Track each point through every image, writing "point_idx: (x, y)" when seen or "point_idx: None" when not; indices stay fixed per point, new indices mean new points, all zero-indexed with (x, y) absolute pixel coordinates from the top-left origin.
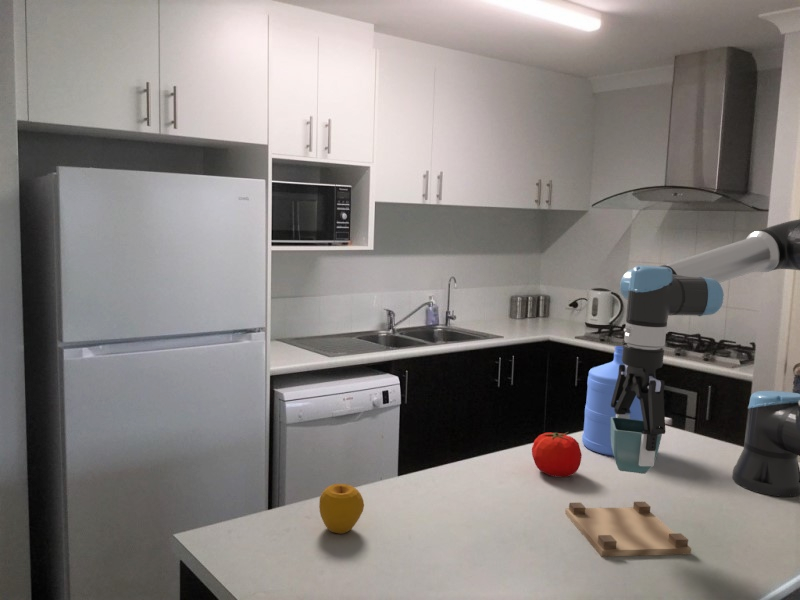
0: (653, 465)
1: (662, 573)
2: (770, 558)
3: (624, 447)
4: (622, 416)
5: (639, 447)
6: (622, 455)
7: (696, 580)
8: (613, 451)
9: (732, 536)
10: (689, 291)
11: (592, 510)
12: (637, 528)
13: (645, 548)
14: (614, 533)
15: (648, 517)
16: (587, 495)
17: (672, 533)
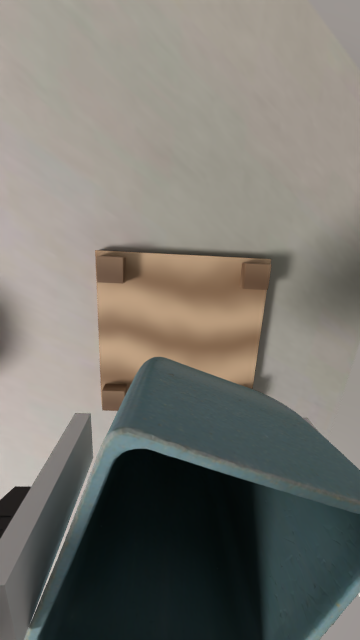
0: (307, 420)
1: (307, 340)
2: (315, 92)
3: (258, 544)
4: (18, 614)
5: (291, 509)
6: (241, 507)
7: (338, 300)
8: (194, 515)
9: (217, 110)
10: None
11: (111, 364)
12: (186, 317)
13: (256, 341)
14: (200, 366)
15: (144, 271)
16: (20, 329)
17: (214, 261)
